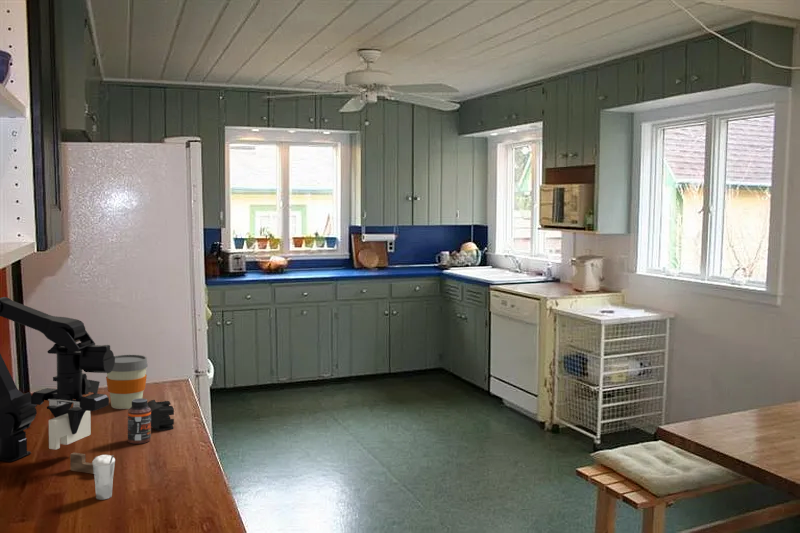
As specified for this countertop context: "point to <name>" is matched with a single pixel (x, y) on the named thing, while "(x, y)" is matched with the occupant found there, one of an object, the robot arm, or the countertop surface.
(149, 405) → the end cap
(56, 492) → the countertop surface
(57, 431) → the cream plate
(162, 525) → the countertop surface
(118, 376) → the reusable coffee cup
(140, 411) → the supplement bottle
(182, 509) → the countertop surface
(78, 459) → the brown wooden flat piece
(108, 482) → the milkshake
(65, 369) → the robot arm
